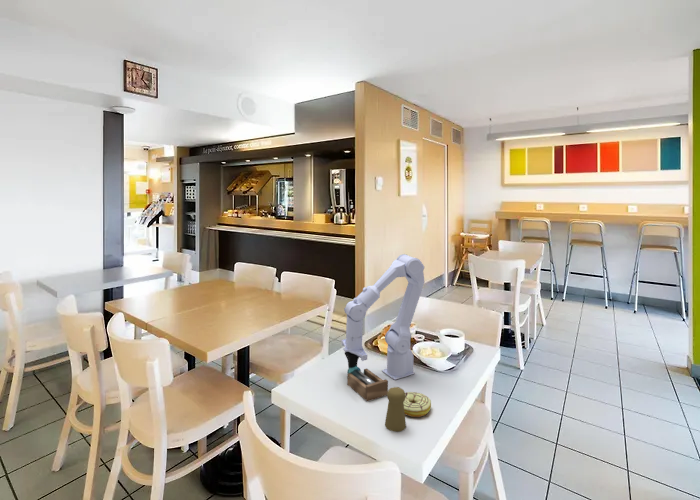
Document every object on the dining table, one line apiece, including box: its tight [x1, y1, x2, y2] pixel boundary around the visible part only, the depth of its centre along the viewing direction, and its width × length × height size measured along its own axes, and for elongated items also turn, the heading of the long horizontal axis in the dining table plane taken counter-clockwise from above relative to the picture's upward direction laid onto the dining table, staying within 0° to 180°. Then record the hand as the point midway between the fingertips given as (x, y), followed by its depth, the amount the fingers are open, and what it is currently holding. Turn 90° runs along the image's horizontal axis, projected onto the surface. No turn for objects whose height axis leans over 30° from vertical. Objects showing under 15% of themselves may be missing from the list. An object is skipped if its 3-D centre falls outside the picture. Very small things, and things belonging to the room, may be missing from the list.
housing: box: [346, 368, 389, 403], centre depth 128 cm, size 13×8×5 cm, turn 31°
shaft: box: [346, 365, 375, 385], centre depth 130 cm, size 14×4×4 cm, turn 31°
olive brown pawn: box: [384, 386, 407, 433], centre depth 108 cm, size 6×6×11 cm
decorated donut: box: [403, 391, 432, 418], centre depth 117 cm, size 10×11×4 cm
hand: (353, 371), depth 135 cm, fingers closed, pressing on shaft
